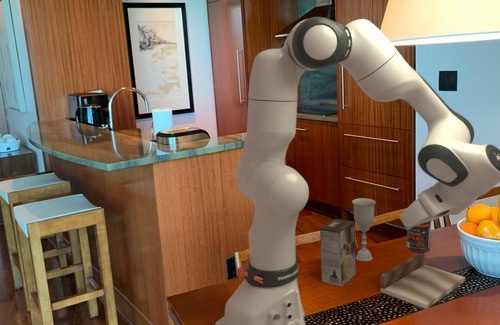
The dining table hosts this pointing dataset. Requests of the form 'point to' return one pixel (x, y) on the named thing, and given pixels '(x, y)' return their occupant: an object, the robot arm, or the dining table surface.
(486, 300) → the dining table surface
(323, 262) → the coffee box
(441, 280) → the edge board
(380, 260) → the dining table surface
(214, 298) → the dining table surface
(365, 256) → the chalice
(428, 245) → the supplement bottle
